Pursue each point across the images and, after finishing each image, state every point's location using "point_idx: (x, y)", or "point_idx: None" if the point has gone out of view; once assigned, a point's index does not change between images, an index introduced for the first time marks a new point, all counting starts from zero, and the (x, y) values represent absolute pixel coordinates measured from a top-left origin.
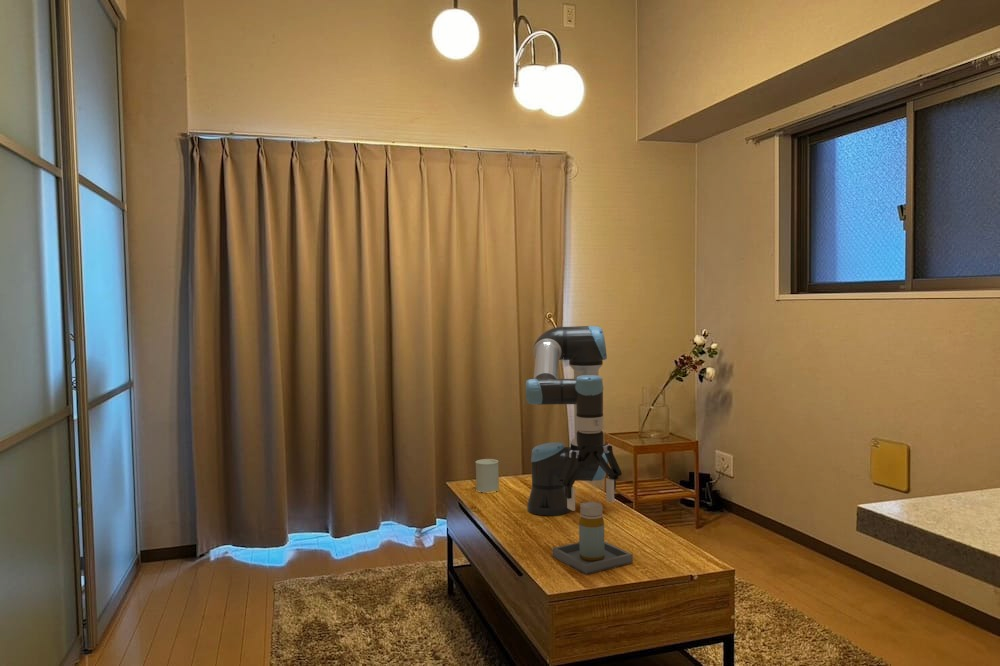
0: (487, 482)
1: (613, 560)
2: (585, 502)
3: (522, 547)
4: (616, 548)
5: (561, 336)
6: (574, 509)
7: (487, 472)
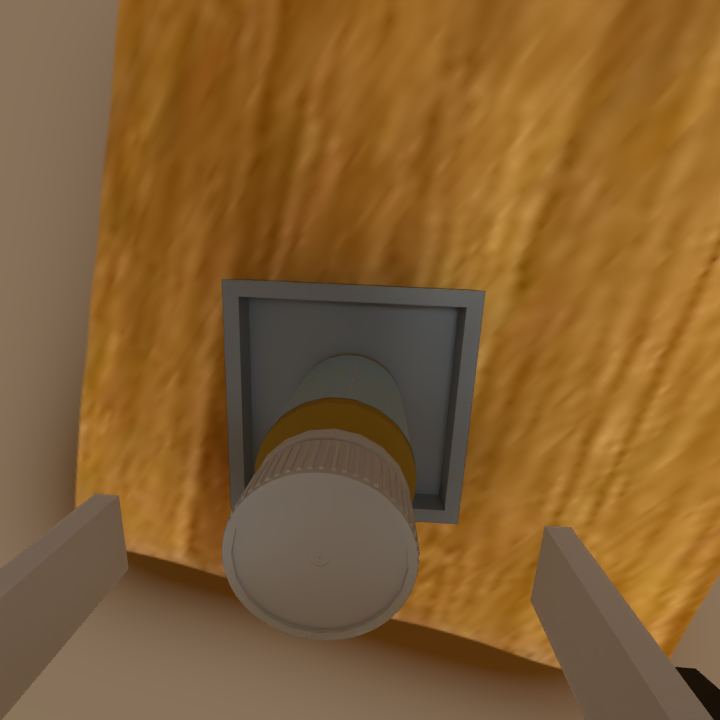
0: None
1: None
2: (325, 474)
3: (176, 89)
4: (454, 443)
5: None
6: (114, 576)
7: None
